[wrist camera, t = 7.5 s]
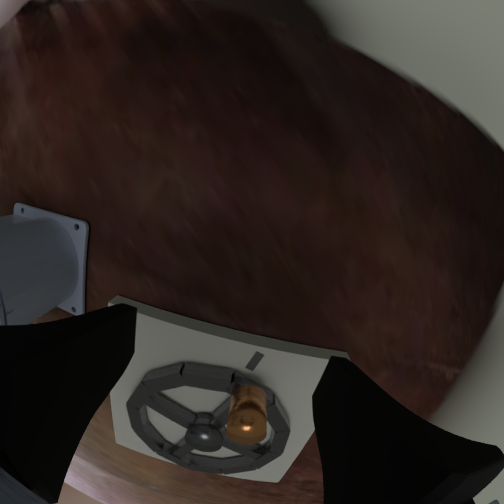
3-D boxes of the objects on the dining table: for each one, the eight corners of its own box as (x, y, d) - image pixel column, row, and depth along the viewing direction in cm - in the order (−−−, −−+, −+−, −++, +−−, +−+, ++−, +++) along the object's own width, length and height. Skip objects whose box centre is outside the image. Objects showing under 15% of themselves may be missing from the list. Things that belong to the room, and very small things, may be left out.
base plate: (120, 434, 23) (115, 443, 22) (117, 295, 19) (107, 302, 18) (277, 472, 23) (278, 483, 22) (346, 352, 19) (352, 363, 18)
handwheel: (229, 476, 22) (225, 511, 17) (114, 417, 20) (95, 451, 16) (325, 411, 19) (336, 454, 14) (179, 326, 17) (156, 366, 13)
